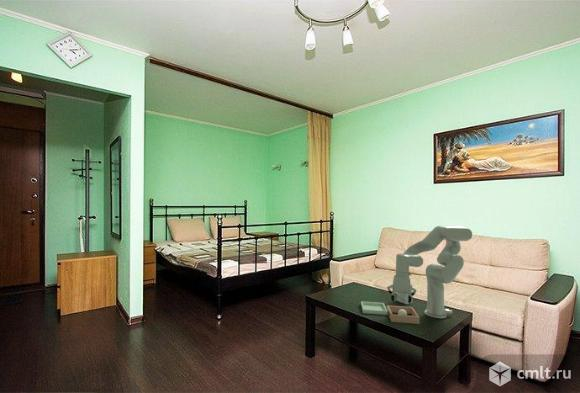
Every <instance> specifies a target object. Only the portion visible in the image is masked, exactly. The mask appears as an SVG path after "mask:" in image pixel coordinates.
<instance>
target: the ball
mask: <svg viewBox="0 0 580 393" xmlns="http://www.w3.org/2000/svg"><path fill="white" fill-rule="evenodd" d="M397 315H406V316H408V314H407V313H406V311H405V310H404V309H400V310H399V311H398V313H397Z"/></svg>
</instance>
